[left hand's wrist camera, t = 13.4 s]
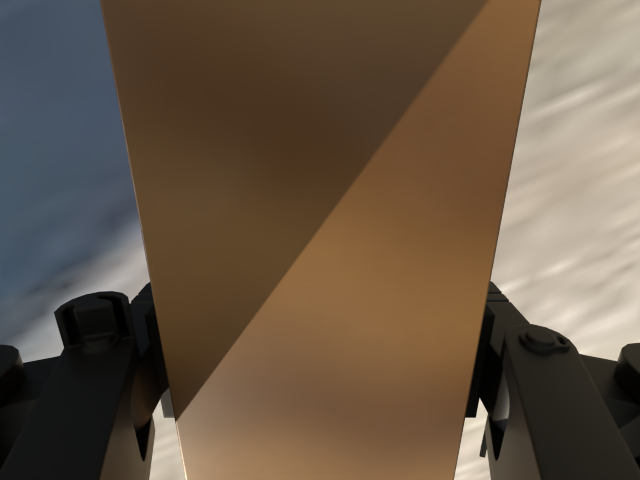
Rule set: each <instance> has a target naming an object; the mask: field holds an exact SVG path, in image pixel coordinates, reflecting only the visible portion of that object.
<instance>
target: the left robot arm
mask: <svg viewBox="0 0 640 480" xmlns="http://www.w3.org/2000/svg"><path fill="white" fill-rule="evenodd" d="M54 314H55V318H56V321H57V325H58V328H59V331H60V335H61V338H62V342H63V345H64V349H63V351H62V353H61V355H60V356H57V357H52V358H47V359H42V360H36V361H31V362H26V363H23V362H22V359H21V356H20V354H19V351H18V349H16V348H15V347H13V346H9V345H0V480H149V476H150V468H151V460H152V453H153V445H154V437H155V426H154V421H153V416H152V414H153V412H154V410H155V408H156V406H157V404H158V402H159V400H160V399H161V405H162V410H163V415H164V418H175V417H174V411H173V406H172V400H171V395H170V389H169V383H168V378H167V372H166V367H165V361H164V355H163V350H162V344H161V339H160V333H159V327H158V322H157V316H156V311H155V305H154V300H153V294H152V288H151V283H150V282H149V283H148V284H146V286H145V287H144V288H143V289H142V290H141V291H140V292H139V293H138V295H137V296H136V297H135V298H134V299H133V300H132V301H131V304H129V300H128V297H127V296H126V295H124V294H123V293H120V292H114V291H105V292H96V293H91V294H86V295H83V296H80V297H77V298H75V299H72V300H70V301H68V302H67V303H65V304H63V305H61V306H60V307H59V308H58V309H57V310H56V311H55V312H54ZM479 398H480V399H481V401H482V403H483V405H484V406H485V408H486V410H487V412H488V416H487V421H486V425H485V430H484V435H483V440H482V445H481V450H480V457H484V458H485V455H486V450H487V452H488V459H489V467H490V475H491V480H640V343H633V344H627V345H626V346H624V347H623V348H622V350H621V352H620V355H619V358H618V361H613V360H608V359H602V358H597V357H592V356H586V355H582V354H579V353H578V351H577V349H576V347H575V346H574V345H573V344H572V342H571V341H570V340H569V339H567V338H566V337H564V336H563V335H561V334H560V333H558V332H556V331H553V330H551V329H548V328H546V327H542V326H538V325H533V324H530V323H529V322H528V321H527V320H526V319H525V318H524V316H523V315H522V314H521V313H520V312H519V311H518V310H517V309H516V308H515V306H514V305H513V304H512V303H511V302H509V300H508V299H507V298H506V297H505V295H504V294H502V292H501V291H500V290H499V289H498V288H497V287H496V285H495V284H494V283H493V282H491V281H490V284H489V290H488V295H487V301H486V306H485V312H484V317H483V323H482V328H481V334H480V339H479V345H478V350H477V355H476V361H475V366H474V372H473V377H472V383H471V388H470V394H469V399H468V405H467V410H466V416H465V418H476V413H477V408H478V403H479Z"/></svg>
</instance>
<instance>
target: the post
mask: <svg viewBox="0 0 640 480" xmlns="http://www.w3.org/2000/svg"><path fill="white" fill-rule="evenodd" d="M100 3H101V9H102V14H103V20H104V25H105V31H106V37H107V42H108V48H109V53H110V59H111V65H112V70H113V76H114V81H115V87H116V93H117V98H118V104H119V109H120V115H121V121H122V126H123V132H124V137H125V143H126V149H127V154H128V160H129V165H130V171H131V176H132V182H133V188H134V193H135V199H136V204H137V210H138V216H139V221H140V227H141V232H142V238H143V244H144V249H145V255H146V260H147V266H148V272H149V277H150V283H151V288H152V294H153V300H154V305H155V311H156V316H157V322H158V327H159V333H160V339H161V344H162V350H163V355H164V361H165V367H166V372H167V378H168V383H169V389H170V395H171V400H172V406H173V411H174V417H175V423H176V428H177V434H178V439H179V445H180V451H181V456H182V462H183V467H184V473H185V478H186V480H454V476H455V470H456V465H457V459H458V454H459V448H460V443H461V437H462V432H463V427H464V421H465V416H466V410H467V405H468V399H469V394H470V388H471V383H472V377H473V372H474V366H475V361H476V355H477V350H478V345H479V339H480V334H481V328H482V323H483V317H484V312H485V306H486V301H487V295H488V290H489V284H490V279H491V274H492V268H493V263H494V257H495V252H496V246H497V241H498V235H499V230H500V224H501V219H502V213H503V208H504V202H505V197H506V192H507V186H508V181H509V175H510V170H511V164H512V159H513V153H514V148H515V142H516V137H517V131H518V126H519V120H520V115H521V110H522V104H523V99H524V93H525V88H526V82H527V77H528V71H529V66H530V60H531V55H532V49H533V44H534V38H535V33H536V28H537V22H538V17H539V11H540V6H541V0H100Z"/></svg>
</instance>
